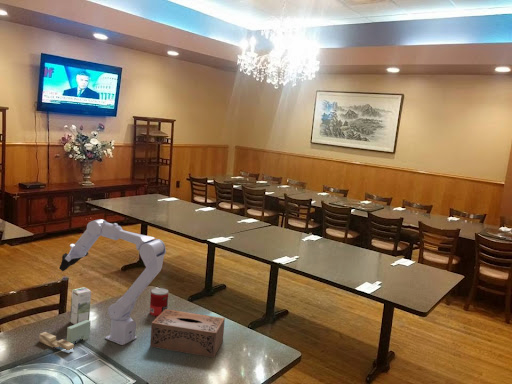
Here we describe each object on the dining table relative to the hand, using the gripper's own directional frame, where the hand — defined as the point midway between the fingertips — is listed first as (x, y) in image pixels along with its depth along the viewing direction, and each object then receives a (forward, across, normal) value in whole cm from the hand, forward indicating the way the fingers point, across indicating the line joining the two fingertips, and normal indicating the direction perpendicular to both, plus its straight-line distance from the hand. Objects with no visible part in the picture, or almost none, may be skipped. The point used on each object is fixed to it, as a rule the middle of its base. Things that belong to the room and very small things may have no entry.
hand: (66, 266), depth 172 cm
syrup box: (+18, -1, +19) cm, 26 cm away
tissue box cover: (-10, +3, +58) cm, 59 cm away
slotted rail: (+15, +20, +20) cm, 31 cm away
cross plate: (+12, +14, +24) cm, 30 cm away
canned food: (+4, -21, +42) cm, 47 cm away
